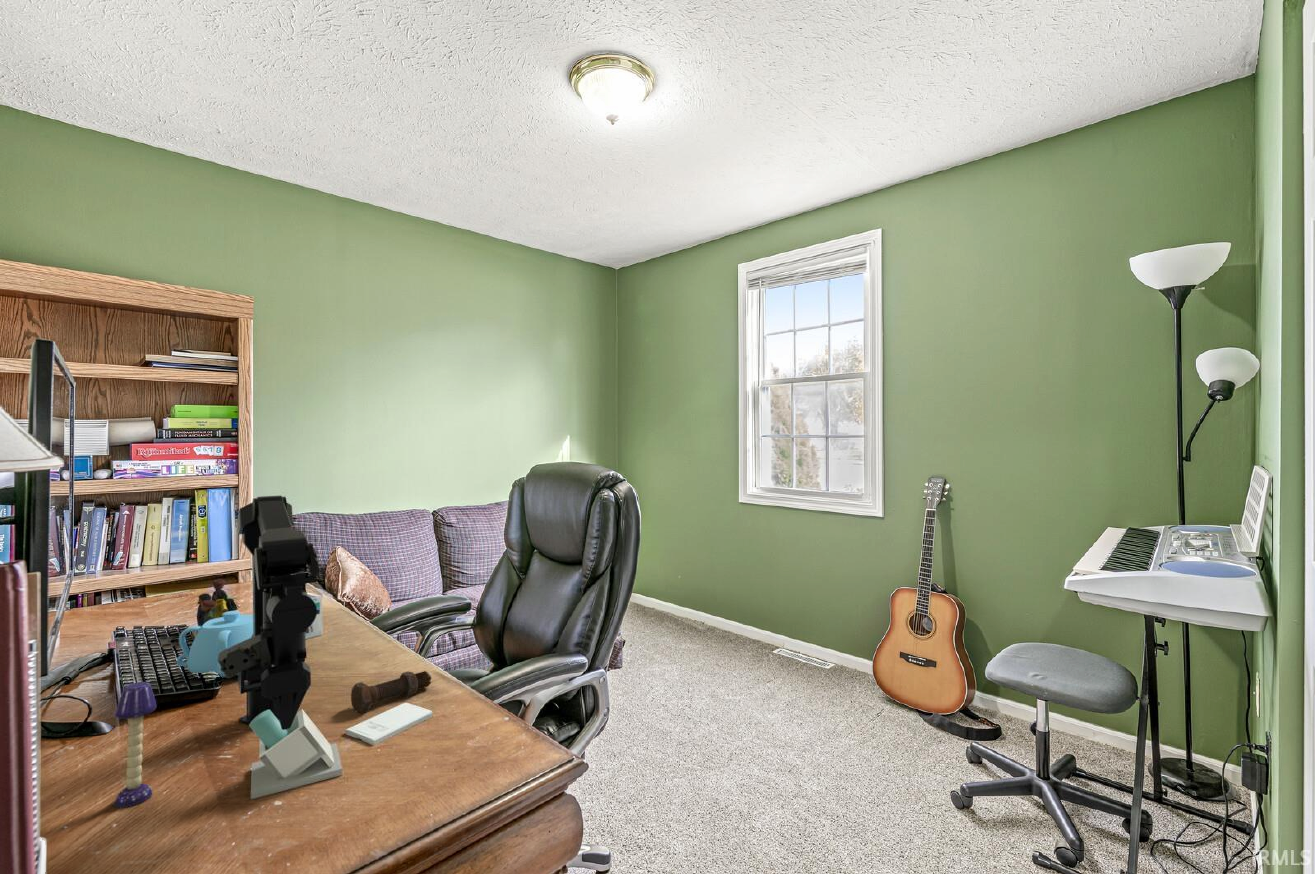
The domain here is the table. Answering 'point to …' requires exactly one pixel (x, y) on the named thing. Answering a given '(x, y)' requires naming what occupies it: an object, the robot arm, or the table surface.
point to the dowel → (268, 728)
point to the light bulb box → (317, 624)
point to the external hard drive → (389, 723)
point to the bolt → (387, 690)
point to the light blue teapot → (214, 641)
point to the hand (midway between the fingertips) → (285, 717)
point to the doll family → (214, 604)
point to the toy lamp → (135, 740)
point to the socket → (295, 760)
